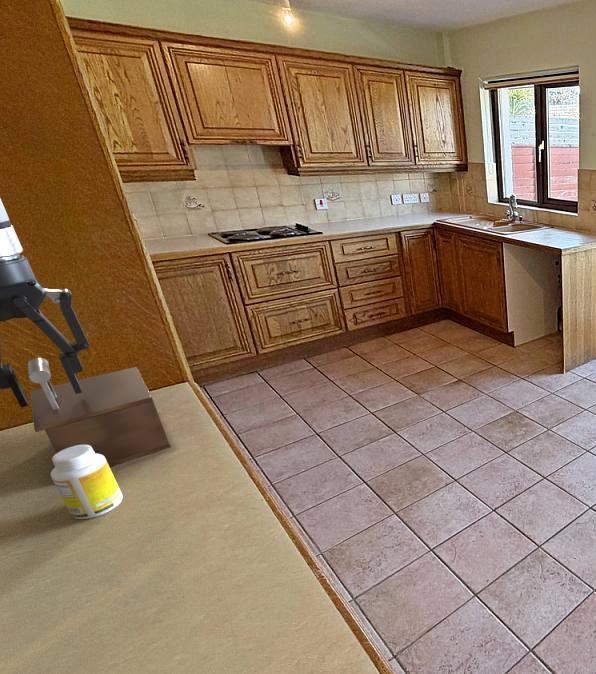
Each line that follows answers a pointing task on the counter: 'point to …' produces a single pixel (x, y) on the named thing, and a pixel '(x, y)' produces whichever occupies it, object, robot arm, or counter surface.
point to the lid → (82, 395)
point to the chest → (115, 434)
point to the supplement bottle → (85, 482)
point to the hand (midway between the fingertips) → (51, 396)
